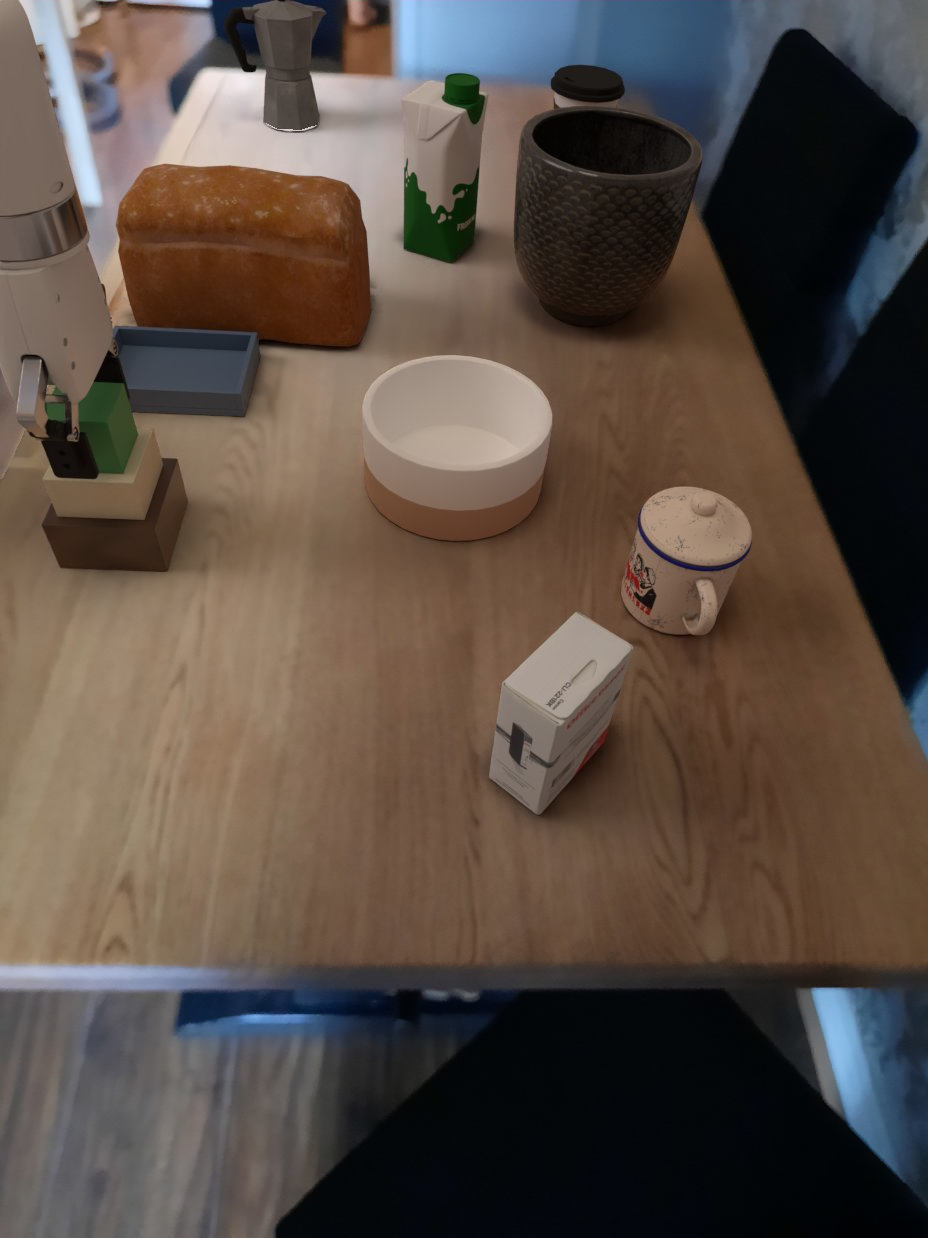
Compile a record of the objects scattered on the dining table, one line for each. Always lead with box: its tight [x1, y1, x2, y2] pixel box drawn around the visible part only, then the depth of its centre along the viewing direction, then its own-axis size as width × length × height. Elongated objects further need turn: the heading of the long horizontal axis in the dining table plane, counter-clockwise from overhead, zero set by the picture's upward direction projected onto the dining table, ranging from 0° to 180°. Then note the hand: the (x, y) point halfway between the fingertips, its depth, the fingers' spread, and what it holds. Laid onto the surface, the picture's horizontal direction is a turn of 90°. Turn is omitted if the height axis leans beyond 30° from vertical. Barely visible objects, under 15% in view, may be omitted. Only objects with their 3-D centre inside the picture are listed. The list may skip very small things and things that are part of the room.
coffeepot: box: [223, 0, 327, 130], centre depth 130 cm, size 15×9×18 cm, turn 114°
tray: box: [112, 325, 261, 418], centre depth 89 cm, size 15×11×3 cm
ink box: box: [488, 611, 634, 816], centre depth 59 cm, size 8×5×12 cm, turn 140°
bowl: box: [361, 354, 553, 542], centre depth 80 cm, size 17×17×8 cm
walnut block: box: [41, 457, 189, 572], centre depth 74 cm, size 9×9×5 cm
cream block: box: [42, 426, 163, 520], centre depth 70 cm, size 7×7×4 cm
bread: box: [115, 163, 372, 347], centre depth 94 cm, size 14×26×16 cm, turn 87°
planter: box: [513, 106, 703, 327], centre depth 98 cm, size 20×20×19 cm
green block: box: [47, 382, 138, 474], centre depth 67 cm, size 5×5×5 cm
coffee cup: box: [550, 64, 626, 109], centre depth 128 cm, size 11×11×12 cm
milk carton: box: [400, 72, 489, 264], centre depth 106 cm, size 9×9×20 cm
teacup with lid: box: [620, 486, 753, 636], centre depth 69 cm, size 12×9×12 cm
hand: (95, 436), depth 68 cm, fingers open, 9 cm apart
